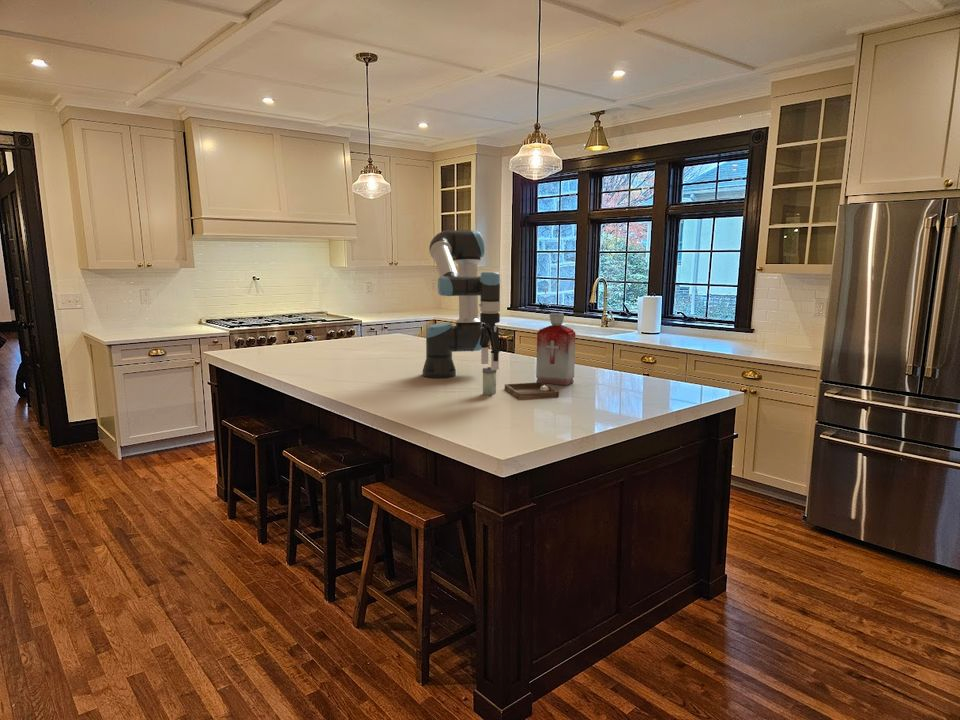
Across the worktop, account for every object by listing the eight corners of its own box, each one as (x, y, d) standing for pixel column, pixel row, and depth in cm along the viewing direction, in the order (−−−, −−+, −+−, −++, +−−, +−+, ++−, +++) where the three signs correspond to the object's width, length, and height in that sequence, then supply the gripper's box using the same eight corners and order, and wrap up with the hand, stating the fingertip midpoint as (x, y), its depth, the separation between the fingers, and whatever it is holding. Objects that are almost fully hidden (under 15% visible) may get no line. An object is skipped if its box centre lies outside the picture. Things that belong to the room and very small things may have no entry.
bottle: (534, 383, 266) (536, 313, 260) (543, 379, 275) (545, 311, 269) (566, 387, 259) (569, 315, 254) (575, 383, 268) (577, 313, 263)
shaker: (480, 393, 248) (480, 366, 246) (493, 392, 250) (494, 365, 248) (484, 396, 243) (484, 369, 241) (498, 395, 245) (498, 368, 243)
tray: (504, 390, 253) (504, 384, 253) (541, 388, 258) (541, 382, 257) (519, 400, 236) (519, 394, 236) (558, 398, 241) (558, 391, 240)
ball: (538, 393, 246) (538, 384, 245) (546, 393, 246) (546, 384, 246) (541, 395, 242) (541, 386, 241) (550, 395, 243) (550, 386, 242)
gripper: (472, 310, 252) (472, 361, 255) (490, 315, 228) (489, 372, 231) (489, 309, 254) (489, 361, 257) (509, 314, 230) (509, 371, 233)
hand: (489, 366), depth 244 cm, fingers open, 13 cm apart
